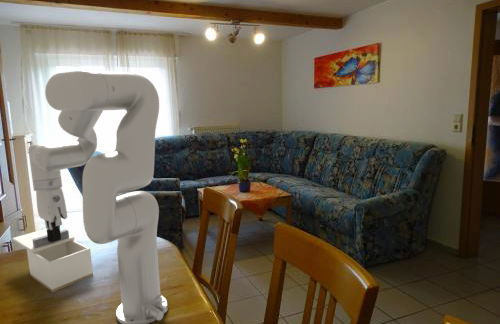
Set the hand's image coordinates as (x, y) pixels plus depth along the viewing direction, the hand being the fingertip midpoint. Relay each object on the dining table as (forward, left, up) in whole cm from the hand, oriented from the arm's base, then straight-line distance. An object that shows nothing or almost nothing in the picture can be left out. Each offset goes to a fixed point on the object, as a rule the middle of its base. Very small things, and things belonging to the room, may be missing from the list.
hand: (54, 240), depth 106 cm
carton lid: (+9, 0, -2) cm, 9 cm away
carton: (-2, 0, -11) cm, 11 cm away
